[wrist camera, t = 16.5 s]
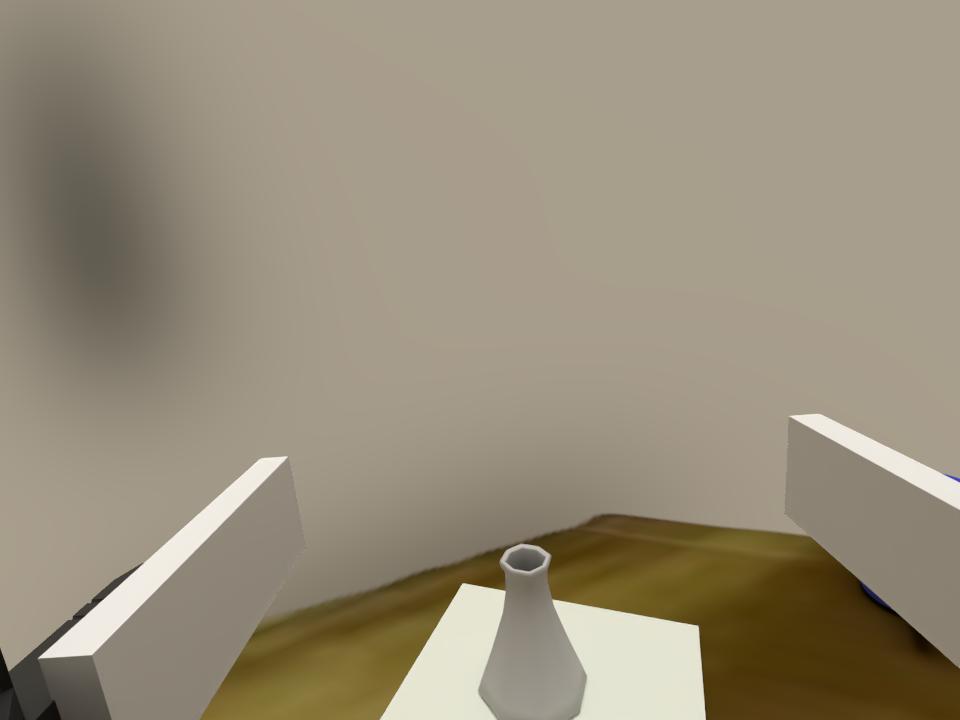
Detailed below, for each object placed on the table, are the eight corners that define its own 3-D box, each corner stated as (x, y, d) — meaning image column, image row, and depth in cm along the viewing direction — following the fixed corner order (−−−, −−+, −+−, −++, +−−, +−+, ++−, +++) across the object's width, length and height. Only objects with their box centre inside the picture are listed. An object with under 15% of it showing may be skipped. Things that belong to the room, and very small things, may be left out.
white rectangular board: (698, 634, 39) (698, 626, 38) (716, 872, 24) (717, 859, 24) (463, 590, 46) (462, 583, 46) (367, 753, 31) (366, 742, 31)
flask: (520, 632, 39) (513, 517, 37) (605, 676, 34) (601, 548, 32) (459, 696, 34) (447, 566, 32) (549, 759, 29) (541, 612, 27)
